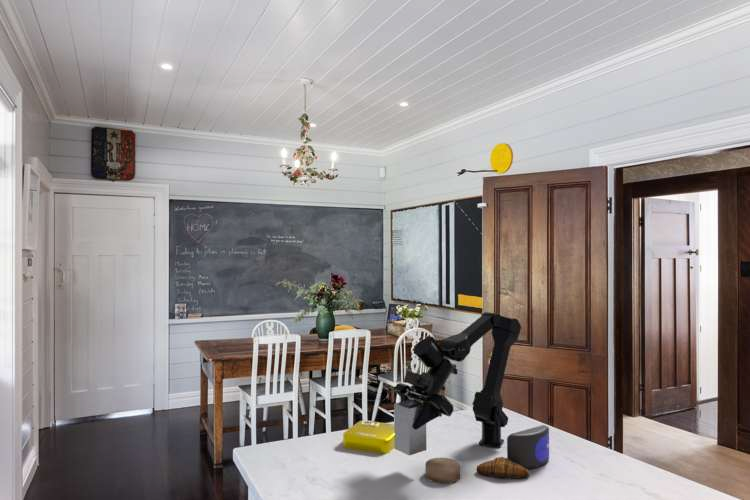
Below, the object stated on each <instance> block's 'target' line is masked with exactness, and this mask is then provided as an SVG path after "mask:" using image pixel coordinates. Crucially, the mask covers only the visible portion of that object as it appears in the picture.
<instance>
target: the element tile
mask: <svg viewBox="0 0 750 500" xmlns="http://www.w3.org/2000/svg"><path fill="white" fill-rule="evenodd" d="M342 444H343V445H342V447H343V448H344V449H350V450H355V451H356V450H357V451H364V452H369V453H376V454H389V453H390V452H392V451H393V450H394V449H395V434H394V423H387V422H379V421H374V420H373V421H372V420H363V419H362V420H359V421H358V422H356V423H355V424H353V425H352V426H351V427H349V428H348V429H347V430H345V431H344V432H343V435H342Z"/></svg>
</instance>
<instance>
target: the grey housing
mask: <svg viewBox="0 0 750 500" xmlns="http://www.w3.org/2000/svg"><path fill="white" fill-rule="evenodd" d="M393 405H394V407H393V409H394V413H393V414H394V416H393V417H394V423H393V424H394V434H395V447H394V449H395V450H396V451H399V452H401V453H403V454H406V455H407V456H413V455H415V454H419V453H421V452H424V451H427V423H426V424H424V425H423V426H421V427H420V428H418V429H417V430H415V429H414V428H413V426H414V424H415V422H416V420H417V418H418V416H419V415H420V413H421V411H422V409H423V402H421V401H418V400H416V401H414V400H411V399H410V400H406V401H402V402H401V401H399V402H395V403H394V404H393Z"/></svg>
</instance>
